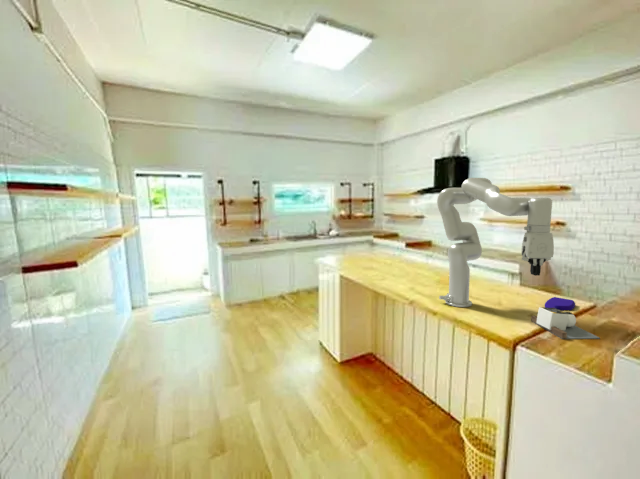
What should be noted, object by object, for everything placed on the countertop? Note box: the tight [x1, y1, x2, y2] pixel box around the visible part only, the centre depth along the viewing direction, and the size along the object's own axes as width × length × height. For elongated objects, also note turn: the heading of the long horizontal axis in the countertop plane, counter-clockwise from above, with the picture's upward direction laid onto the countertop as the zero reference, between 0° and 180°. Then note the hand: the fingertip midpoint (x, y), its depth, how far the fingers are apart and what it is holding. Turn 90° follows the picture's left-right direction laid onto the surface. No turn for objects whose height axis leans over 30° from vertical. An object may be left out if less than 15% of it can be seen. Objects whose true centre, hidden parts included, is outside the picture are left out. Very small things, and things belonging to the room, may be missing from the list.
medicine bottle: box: [536, 306, 577, 331], centre depth 127 cm, size 7×7×12 cm
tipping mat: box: [530, 315, 601, 340], centre depth 126 cm, size 14×18×2 cm
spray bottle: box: [544, 296, 576, 311], centre depth 150 cm, size 3×11×25 cm
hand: (535, 274), depth 124 cm, fingers closed
